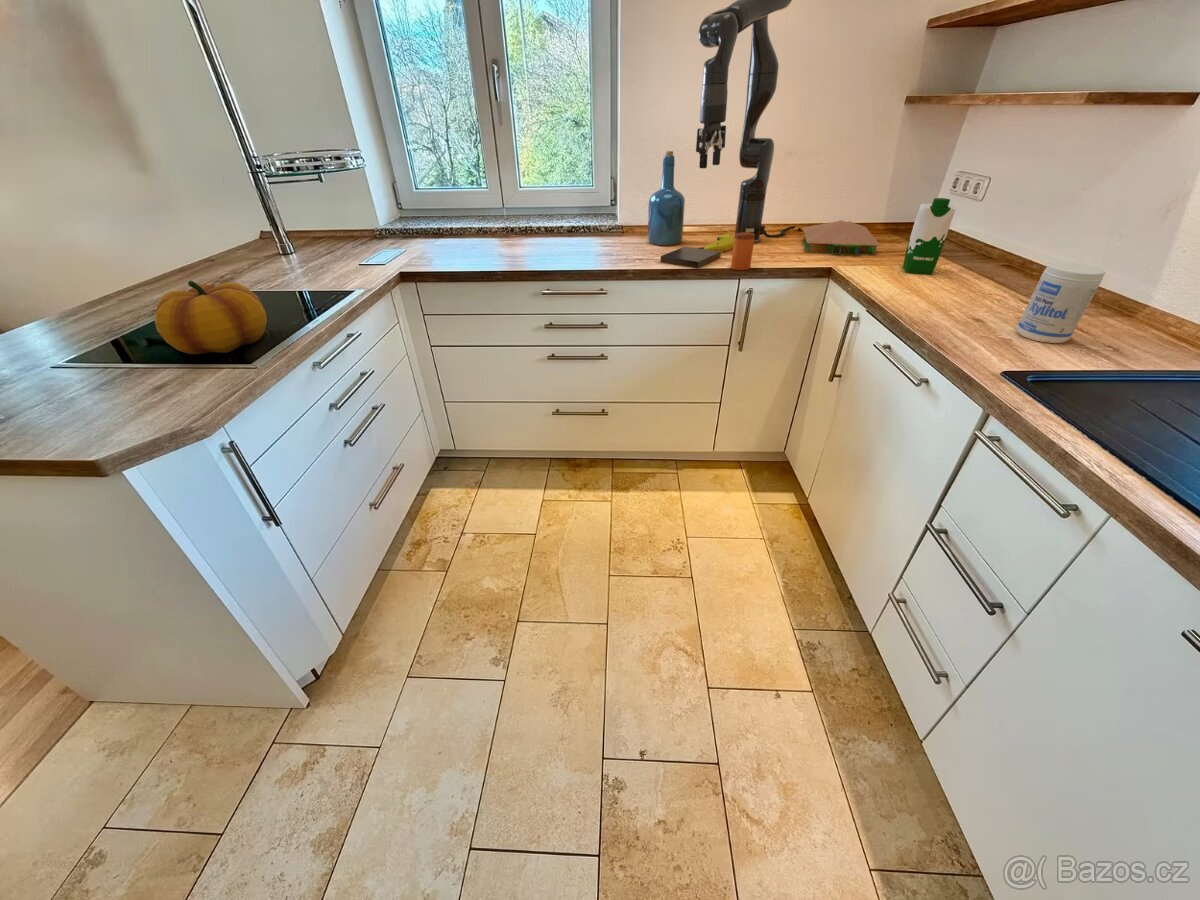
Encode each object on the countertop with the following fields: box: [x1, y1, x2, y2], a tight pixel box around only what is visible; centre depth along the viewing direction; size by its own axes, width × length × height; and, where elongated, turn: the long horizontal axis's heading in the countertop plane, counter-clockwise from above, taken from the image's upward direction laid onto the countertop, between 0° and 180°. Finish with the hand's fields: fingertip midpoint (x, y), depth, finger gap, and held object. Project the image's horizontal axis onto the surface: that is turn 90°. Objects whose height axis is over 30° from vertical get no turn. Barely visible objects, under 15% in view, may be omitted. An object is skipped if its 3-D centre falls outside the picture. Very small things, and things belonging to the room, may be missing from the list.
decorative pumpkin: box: [154, 280, 268, 355], centre depth 113 cm, size 20×22×15 cm
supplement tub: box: [1016, 261, 1106, 344], centre depth 107 cm, size 10×10×15 cm
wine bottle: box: [647, 150, 686, 246], centre depth 185 cm, size 14×13×30 cm
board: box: [660, 246, 722, 269], centre depth 171 cm, size 16×14×2 cm
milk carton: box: [902, 197, 956, 275], centre depth 149 cm, size 9×9×20 cm
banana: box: [698, 233, 735, 253], centre depth 184 cm, size 5×17×15 cm
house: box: [802, 220, 881, 257], centre depth 181 cm, size 23×33×8 cm
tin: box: [730, 232, 755, 271], centre depth 159 cm, size 6×6×10 cm
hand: (709, 166), depth 157 cm, fingers open, 8 cm apart
